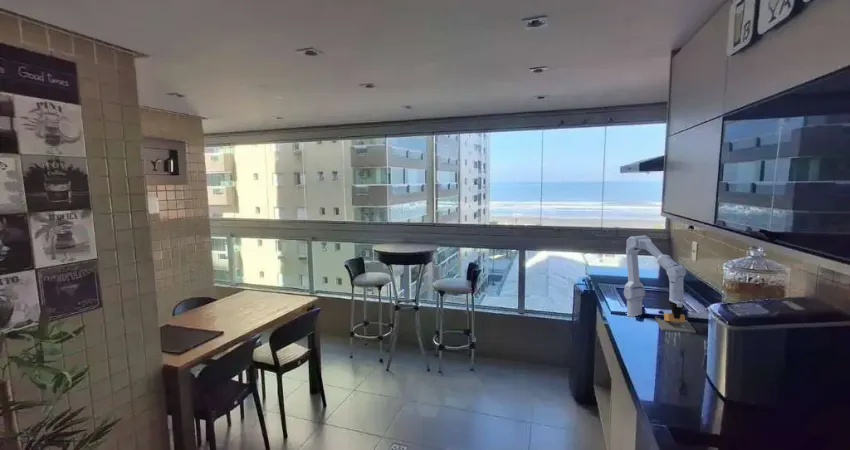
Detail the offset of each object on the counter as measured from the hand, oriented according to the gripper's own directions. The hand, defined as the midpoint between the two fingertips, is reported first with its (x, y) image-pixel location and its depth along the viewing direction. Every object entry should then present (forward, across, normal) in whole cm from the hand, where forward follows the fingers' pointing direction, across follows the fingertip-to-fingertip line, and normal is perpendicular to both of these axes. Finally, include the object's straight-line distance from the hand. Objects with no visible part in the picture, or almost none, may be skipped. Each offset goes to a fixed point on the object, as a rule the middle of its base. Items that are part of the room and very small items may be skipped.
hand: (676, 317), depth 194 cm
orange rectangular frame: (+3, +4, 0) cm, 5 cm away
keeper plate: (+5, +5, 0) cm, 7 cm away
